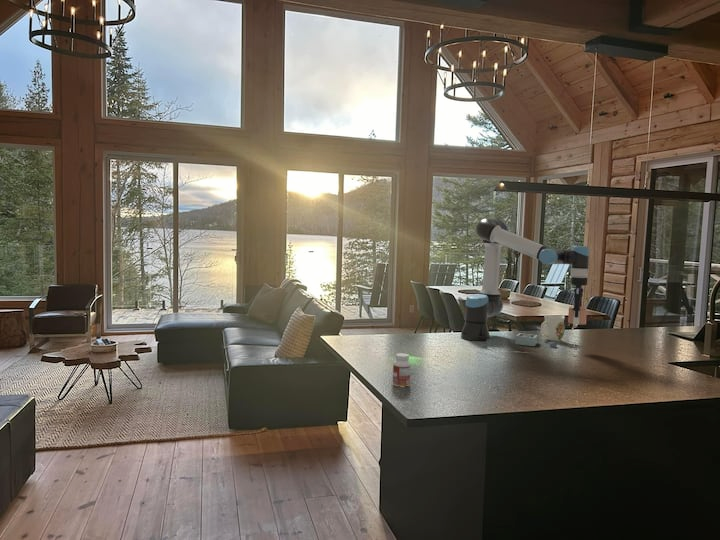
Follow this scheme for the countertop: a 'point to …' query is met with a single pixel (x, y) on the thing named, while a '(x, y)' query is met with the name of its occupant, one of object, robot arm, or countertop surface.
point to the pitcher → (553, 327)
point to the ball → (553, 345)
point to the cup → (582, 315)
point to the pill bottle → (401, 370)
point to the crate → (526, 339)
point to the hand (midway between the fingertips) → (576, 322)
